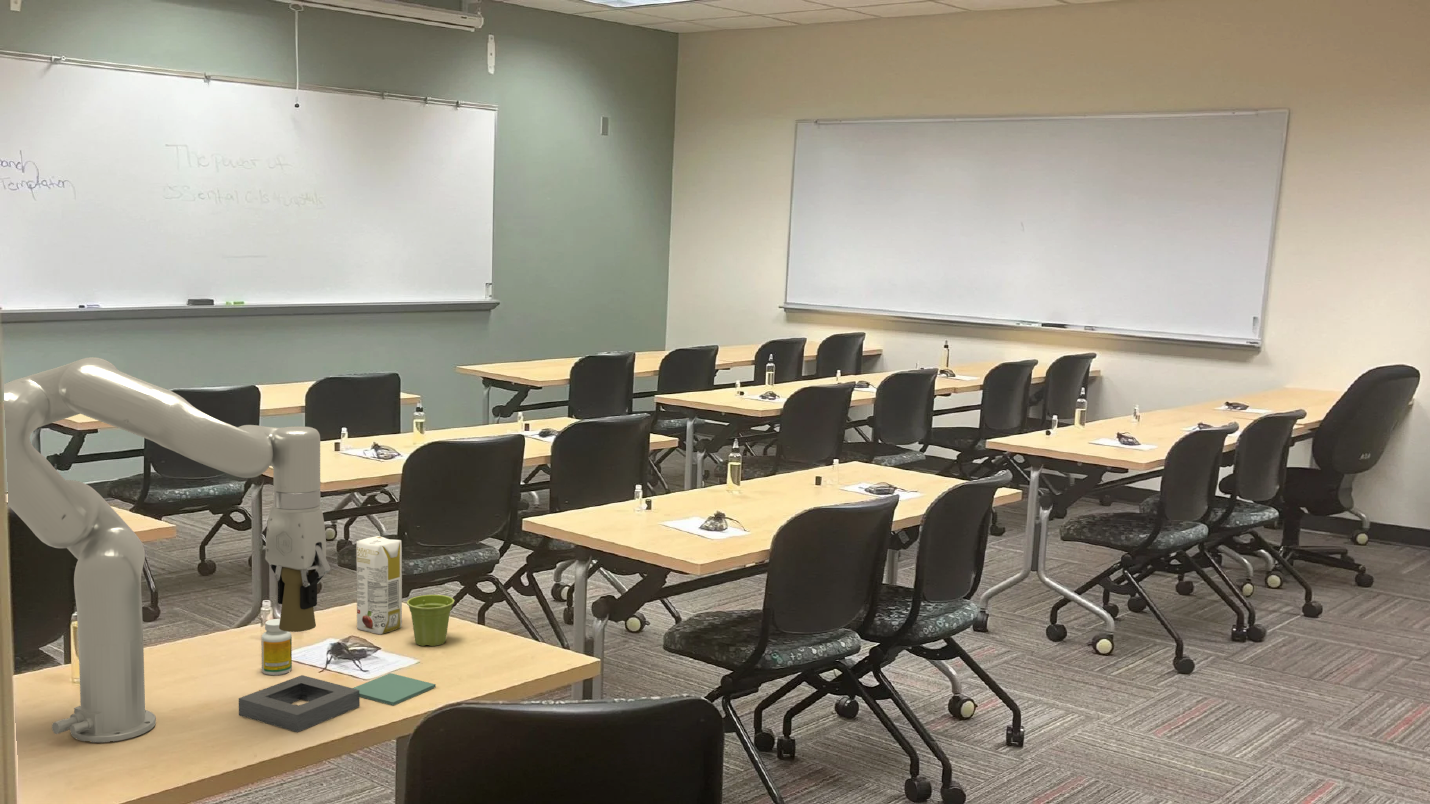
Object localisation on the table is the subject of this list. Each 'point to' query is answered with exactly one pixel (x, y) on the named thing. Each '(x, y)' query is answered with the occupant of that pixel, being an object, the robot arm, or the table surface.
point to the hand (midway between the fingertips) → (297, 603)
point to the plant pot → (430, 618)
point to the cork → (294, 604)
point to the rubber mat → (393, 689)
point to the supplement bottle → (276, 649)
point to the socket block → (280, 712)
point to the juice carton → (379, 584)
